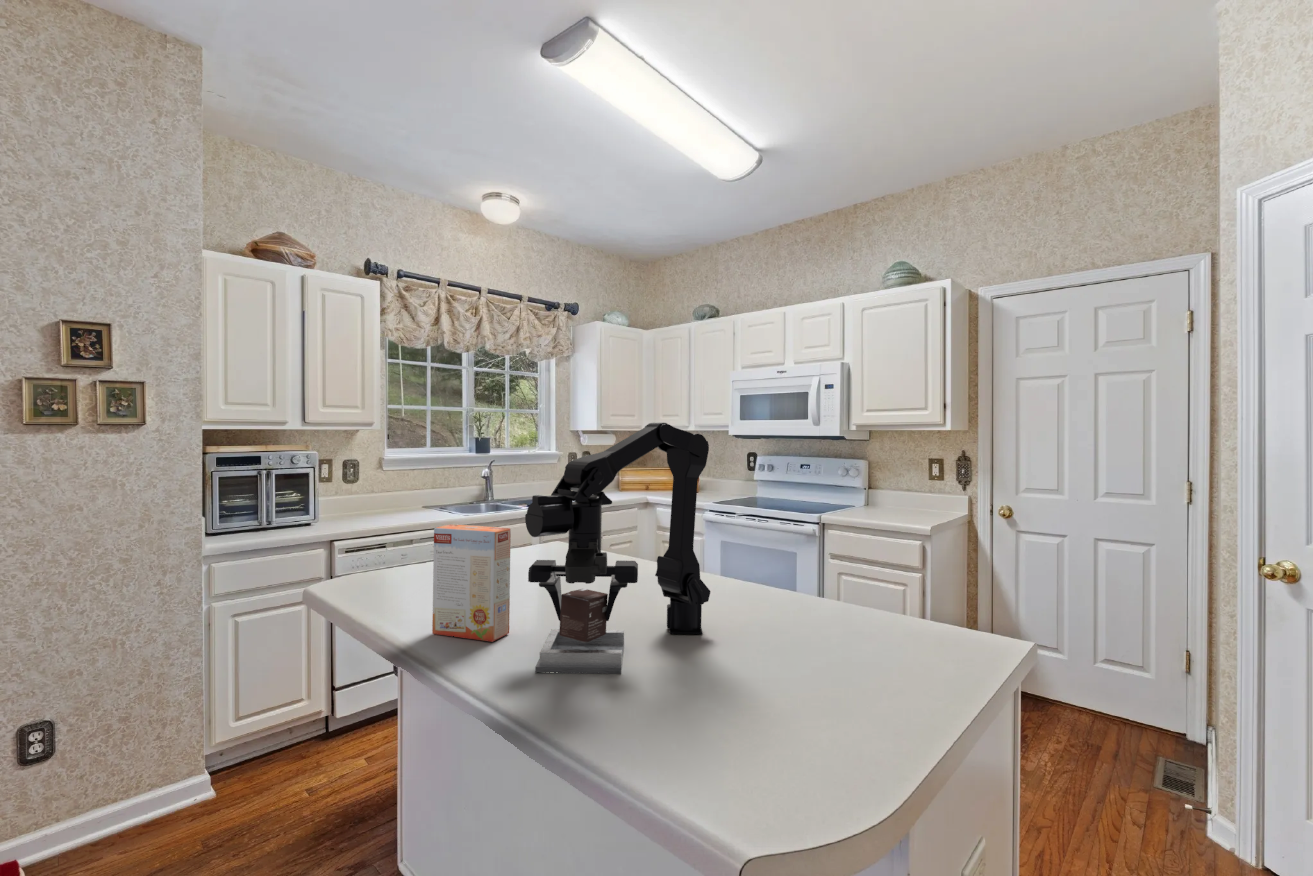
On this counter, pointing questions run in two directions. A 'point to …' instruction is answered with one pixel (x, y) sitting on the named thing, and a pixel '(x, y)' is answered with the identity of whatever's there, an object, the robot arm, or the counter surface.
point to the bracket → (582, 654)
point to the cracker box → (471, 582)
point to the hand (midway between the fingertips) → (584, 620)
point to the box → (583, 615)
